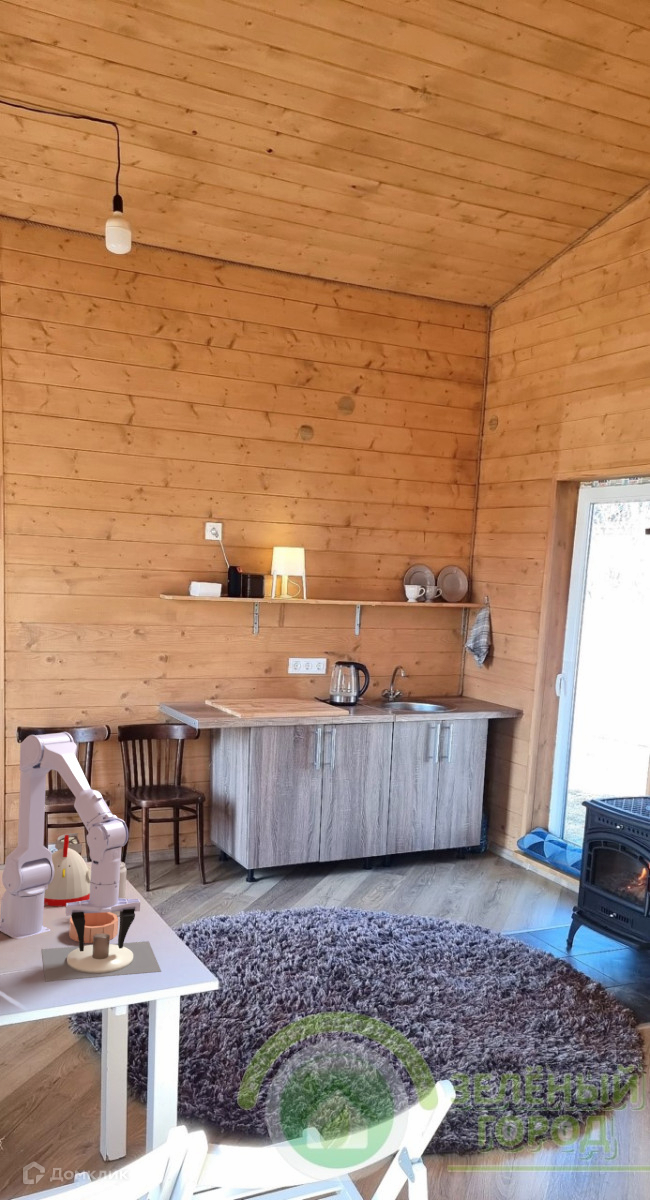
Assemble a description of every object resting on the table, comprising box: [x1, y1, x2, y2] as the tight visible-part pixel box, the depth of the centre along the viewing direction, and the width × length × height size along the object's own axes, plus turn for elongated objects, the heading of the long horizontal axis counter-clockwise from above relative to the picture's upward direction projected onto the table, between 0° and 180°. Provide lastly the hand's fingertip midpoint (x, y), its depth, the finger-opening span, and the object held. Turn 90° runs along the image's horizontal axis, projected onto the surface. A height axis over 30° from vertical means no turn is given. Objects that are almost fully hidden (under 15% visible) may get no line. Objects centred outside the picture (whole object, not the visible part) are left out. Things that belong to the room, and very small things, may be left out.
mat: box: [41, 941, 162, 982], centre depth 180 cm, size 16×22×1 cm
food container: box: [54, 832, 83, 857], centre depth 233 cm, size 12×6×10 cm, turn 21°
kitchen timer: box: [44, 834, 91, 907], centre depth 218 cm, size 14×14×15 cm
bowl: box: [68, 912, 119, 944], centre depth 193 cm, size 10×10×4 cm
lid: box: [67, 933, 133, 973], centre depth 180 cm, size 13×13×5 cm
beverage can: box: [111, 861, 127, 918], centre depth 207 cm, size 6×6×12 cm
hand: (100, 948), depth 180 cm, fingers open, 7 cm apart
